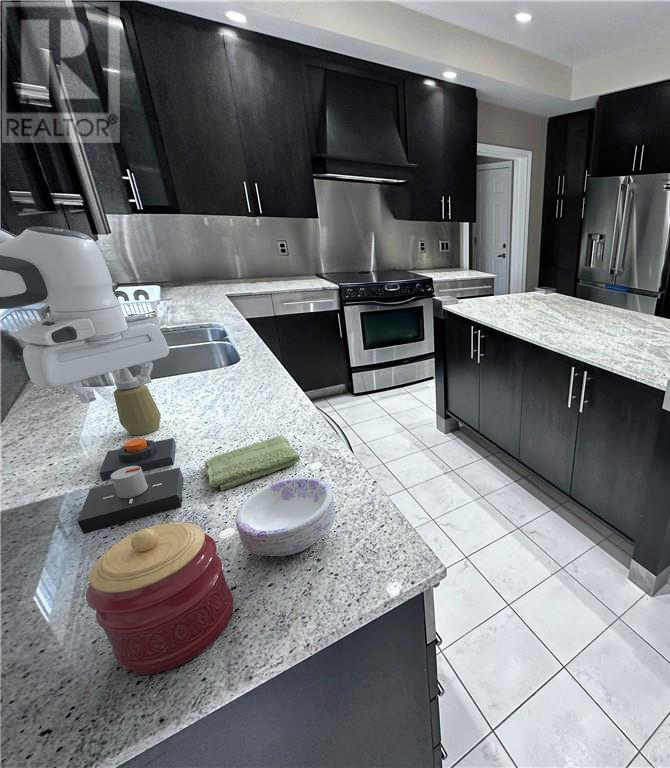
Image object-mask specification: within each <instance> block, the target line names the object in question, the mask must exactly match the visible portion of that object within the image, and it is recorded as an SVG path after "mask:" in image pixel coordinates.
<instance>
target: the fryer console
mask: <svg viewBox="0 0 670 768" xmlns="http://www.w3.org/2000/svg"><path fill="white" fill-rule="evenodd" d="M144 477H145V480H146V483H147V485H148V488H147V490H146V491H145V492H143V493H142V494H140V495H137V496H134V497H131V498H120V497H118V494H117V492H116V490H115V487H114V485H113V482H112V483H108V484H104V485H99V486H95V487H91V488H89V491H88V493H87V496H86V498H85V501H84V503H83V505H82V508H81V511H80V513H79V516H78V518H77V520H76V522H77V524H78V526H79V528H80V531H81V533H82V535H86V534H90V533H94V532H97V531H100V530H104V529H107V528H110V527H115V526H119V525H121V524H125V523H128V522H133V521H137V520H139V519H143V518H146V517H147V518H148V517H150V516H154V515H157V514H161V513H165V512H168V511H171V510H176V509H178V508H181V507H182V503H183V493H184V491H183V490H184V475H183V473H182V470H181V467H175V468H171V469H166V470H162V471H158V472H154V473H149V474H146V475H145V474H144Z"/></svg>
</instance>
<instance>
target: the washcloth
mask: <svg viewBox="0 0 670 768" xmlns="http://www.w3.org/2000/svg"><path fill="white" fill-rule="evenodd" d="M300 459H301V456H300V455H299V453H298V452H297V451H295V449H294V448H293V447H291V445H290V442H289V440H288V438H287V437H285V436H283V435H276V436H273V437H271V438H268V439H266V440H263V441H259V442H255V443H252V444H249V445H246V446H243V447H240V448H237V449H235V450H231V451H227V452H222V453H219V454H217V455H214V456H212V457H210V458H209V459H207V460H206V461H205V462H204V464H203V465H204V475H205V476H206V477H207V478H208V479H209V480H208V484H209V487H210V488H217V487H219V488H220V491H224V490H229V489H231V488H234V487H236V486H239V485H243V484H246V483H248V482H249V481H252V480H256V479H259V478H260V477H264V476H267V475H269V474H272V473H275V472H277V471H279V470H280V471H281V470H283V469H285V468H288V467H290V466H294V465H296V464H297V463H298V462H300Z"/></svg>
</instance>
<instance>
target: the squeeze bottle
mask: <svg viewBox="0 0 670 768" xmlns="http://www.w3.org/2000/svg"><path fill="white" fill-rule="evenodd" d="M118 371H119V378H118V379H117V380H116V381H114V384H115V387H116V389H115V390H113V397H114V401H115V406H116V410H117V416H118V419H119V424H120V425H121V426H122V428H123V429H125V431H126V432H128V433H129V435H131V436H143V435H148V434H151V433H154V432H155V431H157V430H158V429H159V428H160V423H161V416H162V414H161V412H160V410H159V408H158V406H157V404H156V402H155V400H154V398H153V395H152V393H151V392H150V389H149V387H148V385H147V384H145V385H142V384H139V383H138V382H137V381H138V380H137V379H136V376H133V375H132V373H131V371H130V370H129V369H128V367H127V368H124V369H120V370H118ZM156 429H157V430H156Z"/></svg>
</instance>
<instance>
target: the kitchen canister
mask: <svg viewBox="0 0 670 768" xmlns="http://www.w3.org/2000/svg"><path fill="white" fill-rule="evenodd" d="M88 582H89V584H88V586H87V589H86V594H85V600H86V603H87V605H88V606H89V607H90V608H91V609H93V610H94V611H95V619H96V622H97V623H98V625H99V626H100V628H102V629H103V631H104V633H105V635H106V637H107V640H108V641H109V643H110V646H111V648H112V655H113V656H114V658H115V660H116V661H117V663H118V664H119V665H120V666H122V667H123V668H124V669H126V670H127V671H129V673H133V674H136V675H153V674H158V673H159V674H160V673H163V672H166V671H169V670H173V669H174V668H177V667H179V666H181V665H184V664H186V663H188V662H189V661H190V660H192V659H194V658H195V657H197V656H198V655H200V654H201V653H203V652H204V651H206V650H207V649H208V648H209V647H210V646H212V644H213V643H214V642H216V641H217V639H218V638H219V637H220V636H221V635H222V634H223V632H224V631H225V630H226V628H227V627H228V625H229V623H230V621H231V618H232V615H233V609H234V606H233V605H234V598H233V595H232V590H231V589H230V587H229V586H228V584H227V581H226V576H225V574H224V570H223V563H222V560H221V558H220V556H219V555H218V554H217V542H216V540H215V539H214V538H213V537H212V536H211V535H209V534H207V533H205V531H204V530H203V528H202V527H200V526H199V525H198V524H195V523H190V522H171V523H161V524H156V525H152V526H148V527H146V528H143V529H140V530H138V531H135V532H133V533H131V534H129V535H128V536H126V537H124V538H122V539H121V540H119V541H118V542H116V543H115V544H113V546H111V547H110V548H109V549H107V550H106V551H105V552H104V553H103V554H102V555H100V557H99V558H98V559H97V560H96V561H95V562H94V564H93V565H92V567H90V571H89V573H88Z"/></svg>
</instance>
